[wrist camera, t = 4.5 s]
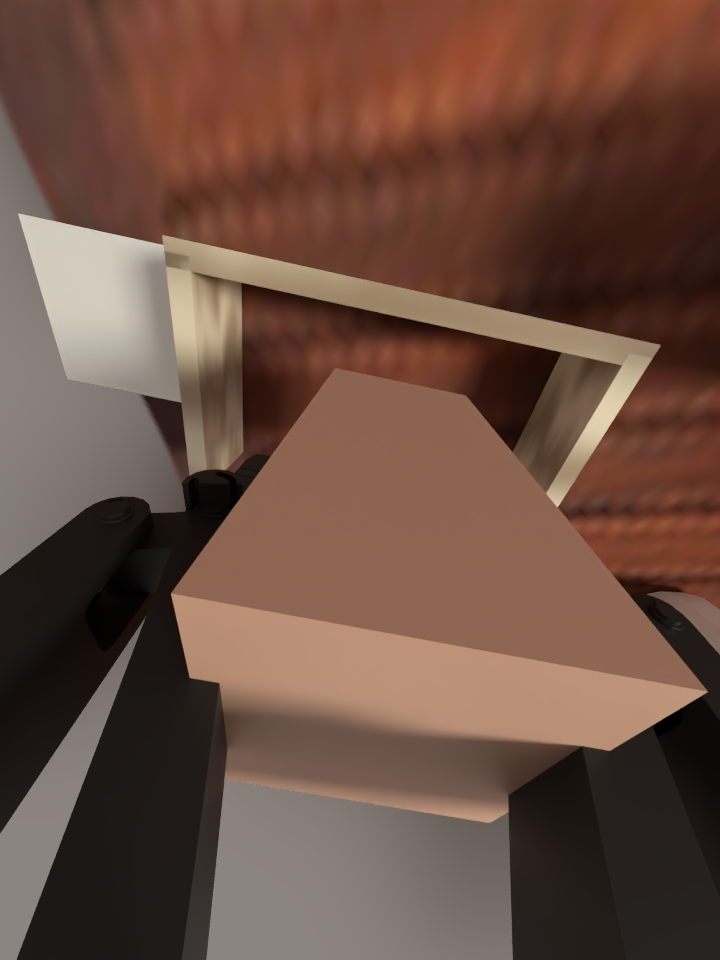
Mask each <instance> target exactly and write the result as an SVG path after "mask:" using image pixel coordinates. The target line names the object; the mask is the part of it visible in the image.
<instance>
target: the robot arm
mask: <svg viewBox="0 0 720 960" xmlns="http://www.w3.org/2000/svg"><path fill="white" fill-rule="evenodd" d="M270 457H271V456H266V455H261V454H257V455H254V456H252V457H250V458H248V459H246V460H245V462H244V463H243V464H242V465H241V466H240V469H238V470H237V471H236V472H235V473H233V472H230V471H227V470H220V469H212V470H203V471H199V472H196V473H194V474H192V475H190V476H188V477H187V478H186V479H185V480H184V481H183V482H182V486H183V493H184V499H185V506H186V511H185V512H176V513H151V511H150V506H149V504H148V503H147V502H146V501H144V500H143V499H139V498H136V497H116V498H110V499H106V500H103V501H100V502H98V503H95V504H93V505H92V506H90V507H88V508H86V509H85V510H84V511H82V512H81V513H80V514H79V515H77V516H76V517H75V518H73V519H72V520H71V521H70V522H68V523H67V524H66V525H65V526H63V527H62V528H61V529H59V530H58V531H57V532H56V533H54V534H53V535H52V536H51V537H49V538H48V539H46V540H45V541H44V542H43V543H41V544H40V545H39V546H37V547H36V548H35V549H34V550H32V551H31V552H30V553H29V554H27V555H26V556H25V557H23V558H22V559H21V560H20V561H19V562H17V563H16V564H14V565H13V566H12V567H11V568H9V569H8V570H7V571H6V572H4V573H3V574H2V575H0V833H1V831H2V830H3V828H4V827H5V825H6V824H7V822H8V821H9V820H10V818H11V817H12V815H13V814H14V812H15V810H16V809H17V808H18V806H19V805H20V803H21V802H22V800H23V799H24V797H25V796H26V794H27V793H28V791H29V790H30V788H31V787H32V785H33V784H34V782H35V781H36V779H37V778H38V776H39V775H40V773H41V772H42V770H43V769H44V767H45V766H46V764H47V763H48V761H49V760H50V758H51V757H52V755H53V754H54V752H55V751H56V749H57V748H58V747H59V745H60V744H61V742H62V741H63V739H64V737H65V736H66V735H67V733H68V731H69V730H70V728H71V727H72V726H73V724H74V723H75V721H76V720H77V718H78V717H79V715H80V714H81V712H82V711H83V709H84V708H85V706H86V705H87V703H88V702H89V700H90V699H91V697H92V696H93V694H94V693H95V691H96V690H97V688H98V687H99V685H100V684H101V682H102V681H103V679H104V678H105V677H106V675H107V674H108V672H109V670H110V669H111V667H112V666H113V665H114V663H115V661H116V660H117V659H118V657H119V656H120V654H121V653H122V651H123V650H124V648H125V647H126V645H127V644H128V642H129V641H130V639H131V638H132V636H133V635H134V633H135V632H136V630H137V629H138V627H139V626H140V624H141V623H142V621H143V620H144V618H145V617H146V618H145V621H144V624H143V626H142V629H141V632H140V634H139V637H138V640H137V642H136V645H135V647H134V650H133V653H132V655H131V658H130V661H129V663H128V666H127V669H126V671H125V674H124V676H123V679H122V682H121V685H120V687H119V690H118V693H117V695H116V698H115V700H114V703H113V706H112V708H111V711H110V714H109V716H108V719H107V722H106V724H105V727H104V729H103V732H102V735H101V737H100V740H99V743H98V745H97V748H96V751H95V753H94V756H93V759H92V761H91V764H90V767H89V769H88V772H87V775H86V777H85V780H84V783H83V785H82V788H81V790H80V793H79V796H78V798H77V801H76V804H75V806H74V809H73V812H72V814H71V817H70V820H69V822H68V825H67V828H66V831H65V833H64V835H63V838H62V841H61V843H60V846H59V849H58V852H57V854H56V857H55V859H54V862H53V865H52V867H51V870H50V873H49V875H48V878H47V881H46V883H45V886H44V888H43V891H42V894H41V897H40V899H39V902H38V905H37V907H36V910H35V912H34V915H33V918H32V920H31V923H30V926H29V928H28V931H27V933H26V937H25V939H24V941H23V944H22V947H21V949H20V952H19V955H18V957H17V960H206V956H207V947H208V937H209V927H210V917H211V906H212V897H213V887H214V877H215V868H216V858H217V847H218V838H219V827H220V818H221V808H222V798H223V788H224V779H225V769H226V759H227V749H228V748H227V740H226V732H225V723H224V715H223V707H222V699H221V691H220V683H216V682H210V681H205V680H199V679H193V678H190V677H189V672H188V668H187V663H186V659H185V654H184V650H183V645H182V641H181V636H180V632H179V627H178V623H177V618H176V614H175V609H174V605H173V600H172V596H171V593H172V591H173V590H174V589H175V587H176V586H177V585H178V583H179V582H180V580H181V579H182V578H183V576H184V575H185V574H186V572H187V571H188V570H189V568H190V567H191V565H192V564H193V563H194V561H195V560H196V559H197V557H198V556H199V554H200V553H201V552H202V550H203V549H204V548H205V546H206V545H207V543H208V542H209V541H210V539H211V538H212V537H213V535H214V534H215V532H216V531H217V530H218V528H219V527H220V526H221V524H222V523H223V522H224V520H225V519H226V517H227V516H228V515H229V513H230V512H231V511H232V509H233V508H234V506H235V505H236V504H237V502H238V501H239V500H240V498H241V497H242V495H243V494H244V493H245V491H246V490H247V489H248V487H249V486H250V484H251V483H252V482H253V480H254V479H255V478H256V476H257V475H258V474H259V472H260V471H261V469H262V468H263V467H264V465H265V464H266V463H267V461H268V460H269V458H270ZM632 599H633V600H634V602H635V603H636V604H637V605H638V607H639V608H640V609H641V610H642V611H643V613H644V614H645V615H646V616H647V618H648V619H649V620H650V621H651V622H652V624H653V625H654V626H655V627H656V629H657V630H658V631H659V632H660V633H661V635H662V636H663V637H664V638H665V640H666V641H667V642H668V643H669V644H670V646H671V647H672V648H673V649H674V651H675V652H676V653H677V654H678V655H679V657H680V658H681V659H682V660H683V662H684V663H685V664H686V665H687V666H688V668H689V669H690V670H691V671H692V673H693V674H694V675H695V676H696V677H697V679H698V680H699V681H700V682H701V684H702V685H703V686H704V687H705V688H706V690H707V691H708V692H707V693H705V694H704V695H702V696H700V697H699V698H697V699H695V700H694V701H692V702H690V703H689V704H687V705H685V706H684V707H682V708H680V709H679V710H677V711H675V712H674V713H672V714H670V715H669V716H667V717H665V718H664V719H662V720H660V721H659V722H657V723H655V724H654V725H652V726H650V727H649V728H647V729H645V730H644V731H642V732H640V733H639V734H637V735H635V736H634V737H632V738H630V739H629V740H627V741H625V742H624V743H622V744H620V745H619V746H617V747H615V748H614V749H612V750H611V751H608V750H602V749H597V748H591V747H585V746H581V747H580V748H578V749H577V750H575V751H574V752H572V753H571V754H569V755H568V756H566V757H565V758H563V759H562V760H560V761H559V762H557V763H556V764H554V765H553V766H551V767H550V768H548V769H547V770H545V771H544V772H542V773H541V774H539V775H538V776H536V777H535V778H533V779H532V780H530V781H529V782H527V783H526V784H524V785H523V786H521V787H520V788H518V789H517V790H515V791H514V792H512V793H511V794H509V795H508V806H509V837H510V838H509V839H510V875H511V909H512V944H513V960H720V654H719V653H718V652H717V651H716V650H715V649H714V648H713V646H712V645H711V644H710V643H709V642H708V641H707V640H706V638H705V637H704V636H703V635H702V634H701V633H700V632H699V631H698V629H697V628H696V627H695V626H694V625H693V624H692V623H691V622H690V621H689V620H688V619H687V618H686V617H685V616H684V615H683V614H682V613H681V612H679V611H678V610H676V609H675V608H674V607H673V606H672V605H670V604H669V603H667V602H664V601H663V600H661V599H659V598H656V597H653V596H650V595H647V594H637V595H635V596H633V597H632ZM146 615H147V616H146Z"/></svg>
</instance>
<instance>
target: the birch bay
mask: <svg viewBox="0 0 720 960" xmlns="http://www.w3.org/2000/svg"><path fill="white" fill-rule="evenodd" d="M162 236H163V245H164V254H165V262H166V271H167V280H168V289H169V298H170V307H171V315H172V324H173V333H174V342H175V351H176V359H177V368H178V377H179V386H180V395H181V403H182V412H183V421H184V430H185V439H186V447H187V456H188V465H189V474H190V475H192V474H194V473H196V472H199V471H203V470H212V469H220V470H226V469H227V468H228V467H229V466H230V465H231V464H232V463H233V462H234V461H235V460H236V459H237V458H238V457H239V456H240V455H241V454H242V453H243V383H242V283H246V284H250V285H255V286H259V287H264V288H269V289H273V290H278V291H282V292H287V293H292V294H296V295H301V296H305V297H310V298H315V299H319V300H324V301H328V302H333V303H338V304H342V305H347V306H351V307H356V308H361V309H365V310H370V311H374V312H379V313H384V314H388V315H393V316H397V317H402V318H407V319H411V320H416V321H420V322H425V323H430V324H434V325H439V326H443V327H448V328H453V329H457V330H462V331H466V332H471V333H476V334H480V335H485V336H489V337H494V338H499V339H503V340H508V341H512V342H517V343H522V344H526V345H531V346H535V347H540V348H545V349H549V350H554V351H558V352H562V353H561V355H560V357H559V359H558V361H557V363H556V365H555V367H554V369H553V371H552V373H551V375H550V377H549V379H548V381H547V383H546V385H545V387H544V389H543V391H542V393H541V395H540V398H539V400H538V402H537V404H536V406H535V408H534V410H533V412H532V414H531V416H530V418H529V420H528V422H527V424H526V426H525V428H524V430H523V432H522V434H521V436H520V438H519V440H518V442H517V444H516V447H515V449H514V451H513V454H514V455H515V456H516V457H517V459H518V460H519V461H520V462H521V463H522V465H523V466H524V467H525V468H526V470H527V471H528V472H529V473H530V474H531V476H532V477H533V478H534V479H535V481H536V482H537V483H538V484H539V485H540V487H541V488H542V489H543V490H544V492H545V493H546V494H547V495H548V496H549V498H550V499H551V500H552V501H553V503H554V504H555V505H556V506H557V507H558V506H559V504H560V503H561V501H562V500H563V498H564V497H565V495H566V493H567V492H568V490H569V489H570V487H571V486H572V484H573V482H574V481H575V479H576V478H577V476H578V475H579V473H580V471H581V470H582V468H583V467H584V465H585V464H586V462H587V460H588V459H589V457H590V456H591V454H592V453H593V451H594V449H595V448H596V446H597V445H598V443H599V442H600V440H601V439H602V437H603V435H604V434H605V432H606V431H607V429H608V428H609V426H610V424H611V423H612V421H613V420H614V418H615V417H616V415H617V413H618V412H619V410H620V409H621V407H622V406H623V404H624V402H625V401H626V399H627V398H628V396H629V395H630V393H631V391H632V390H633V388H634V387H635V385H636V384H637V382H638V380H639V379H640V377H641V376H642V374H643V373H644V371H645V370H646V368H647V366H648V365H649V363H650V362H651V360H652V359H653V357H654V355H655V354H656V352H657V351H658V349H659V348H660V346H661V345H658V344H654V343H649V342H645V341H640V340H636V339H631V338H627V337H622V336H617V335H613V334H608V333H604V332H599V331H595V330H590V329H586V328H581V327H577V326H572V325H568V324H563V323H558V322H554V321H549V320H545V319H540V318H536V317H531V316H527V315H522V314H518V313H513V312H509V311H504V310H500V309H495V308H490V307H486V306H481V305H477V304H472V303H468V302H463V301H459V300H454V299H450V298H445V297H441V296H436V295H431V294H427V293H422V292H418V291H413V290H409V289H404V288H400V287H395V286H391V285H386V284H382V283H377V282H373V281H368V280H363V279H359V278H354V277H350V276H345V275H341V274H336V273H332V272H327V271H323V270H318V269H314V268H309V267H304V266H300V265H295V264H291V263H286V262H282V261H277V260H273V259H268V258H264V257H259V256H255V255H250V254H246V253H241V252H236V251H232V250H227V249H223V248H218V247H214V246H209V245H205V244H200V243H196V242H191V241H187V240H182V239H177V238H173V237H168V236H164V235H162Z"/></svg>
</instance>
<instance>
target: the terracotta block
mask: <svg viewBox="0 0 720 960" xmlns="http://www.w3.org/2000/svg"><path fill="white" fill-rule="evenodd" d="M171 596H172V600H173V605H174V609H175V614H176V618H177V623H178V627H179V632H180V636H181V641H182V645H183V650H184V654H185V659H186V663H187V668H188V672H189V677H190V678H193V679H199V680H205V681H210V682H216V683H220V691H221V699H222V707H223V715H224V723H225V732H226V740H227V748H228V749H227V759H226V769H225V780H231V781H237V782H244V783H251V784H256V785H262V786H268V787H274V788H280V789H286V790H293V791H298V792H305V793H311V794H317V795H323V796H329V797H335V798H341V799H347V800H353V801H359V802H366V803H371V804H378V805H384V806H390V807H396V808H402V809H408V810H415V811H420V812H427V813H432V814H439V815H445V816H451V817H457V818H463V819H469V820H475V821H481V822H487V823H490V822H492V821H494V820H496V819H497V818H499V817H501V816H502V815H504V814H506V813H507V812H509V806H508V795H509V794H511V793H512V792H514V791H515V790H517V789H518V788H520V787H521V786H523V785H524V784H526V783H527V782H529V781H530V780H532V779H533V778H535V777H536V776H538V775H539V774H541V773H542V772H544V771H545V770H547V769H548V768H550V767H551V766H553V765H554V764H556V763H557V762H559V761H560V760H562V759H563V758H565V757H566V756H568V755H569V754H571V753H572V752H574V751H575V750H577V749H578V748H580V747H581V746H585V747H591V748H597V749H602V750H608V751H611V750H612V749H614V748H615V747H617V746H619V745H620V744H622V743H624V742H625V741H627V740H629V739H630V738H632V737H634V736H635V735H637V734H639V733H640V732H642V731H644V730H645V729H647V728H649V727H650V726H652V725H654V724H655V723H657V722H659V721H660V720H662V719H664V718H665V717H667V716H669V715H670V714H672V713H674V712H675V711H677V710H679V709H680V708H682V707H684V706H685V705H687V704H689V703H690V702H692V701H694V700H695V699H697V698H699V697H700V696H702V695H704V694H705V693H707V692H708V691H707V690H706V688H705V687H704V686H703V685H702V684H701V682H700V681H699V680H698V679H697V677H696V676H695V675H694V674H693V673H692V671H691V670H690V669H689V668H688V666H687V665H686V664H685V663H684V662H683V660H682V659H681V658H680V657H679V655H678V654H677V653H676V652H675V651H674V649H673V648H672V647H671V646H670V644H669V643H668V642H667V641H666V640H665V638H664V637H663V636H662V635H661V633H660V632H659V631H658V630H657V629H656V627H655V626H654V625H653V624H652V622H651V621H650V620H649V619H648V618H647V616H646V615H645V614H644V613H643V611H642V610H641V609H640V608H639V607H638V605H637V604H636V603H635V602H634V600H633V599H632V598H631V597H630V596H629V594H628V593H627V592H626V591H625V589H624V588H623V587H622V586H621V584H620V583H619V582H618V581H617V580H616V578H615V577H614V576H613V575H612V573H611V572H610V571H609V570H608V569H607V567H606V566H605V565H604V564H603V562H602V561H601V560H600V559H599V558H598V556H597V555H596V554H595V553H594V551H593V550H592V549H591V548H590V547H589V545H588V544H587V543H586V542H585V540H584V539H583V538H582V537H581V536H580V534H579V533H578V532H577V531H576V529H575V528H574V527H573V526H572V525H571V523H570V522H569V521H568V520H567V518H566V517H565V516H564V515H563V514H562V512H561V511H560V510H559V509H558V507H557V506H556V505H555V504H554V503H553V501H552V500H551V499H550V498H549V496H548V495H547V494H546V493H545V492H544V490H543V489H542V488H541V487H540V485H539V484H538V483H537V482H536V481H535V479H534V478H533V477H532V476H531V474H530V473H529V472H528V471H527V470H526V468H525V467H524V466H523V465H522V463H521V462H520V461H519V460H518V459H517V457H516V456H515V455H514V454H513V452H512V451H511V450H510V449H509V448H508V446H507V445H506V444H505V443H504V441H503V440H502V439H501V438H500V437H499V435H498V434H497V433H496V432H495V430H494V429H493V428H492V427H491V426H490V424H489V423H488V422H487V421H486V419H485V418H484V417H483V416H482V414H481V413H480V412H479V411H478V410H477V408H476V407H475V406H474V405H473V403H472V402H471V401H470V400H469V399H468V397H467V396H466V395H461V394H456V393H452V392H447V391H442V390H437V389H433V388H428V387H423V386H418V385H414V384H409V383H404V382H399V381H394V380H390V379H385V378H380V377H375V376H371V375H366V374H361V373H356V372H352V371H347V370H342V369H337V368H335V369H334V371H333V372H332V373H331V375H330V376H329V378H328V379H327V380H326V382H325V383H324V384H323V386H322V387H321V388H320V390H319V391H318V393H317V394H316V395H315V397H314V398H313V399H312V401H311V402H310V404H309V405H308V406H307V408H306V409H305V410H304V412H303V413H302V415H301V416H300V417H299V419H298V420H297V421H296V423H295V424H294V426H293V427H292V428H291V430H290V431H289V432H288V434H287V435H286V436H285V438H284V439H283V441H282V442H281V443H280V445H279V446H278V447H277V449H276V450H275V452H274V453H273V454H272V456H271V457H270V458H269V460H268V461H267V463H266V464H265V465H264V467H263V468H262V469H261V471H260V472H259V474H258V475H257V476H256V478H255V479H254V480H253V482H252V483H251V484H250V486H249V487H248V489H247V490H246V491H245V493H244V494H243V495H242V497H241V498H240V500H239V501H238V502H237V504H236V505H235V506H234V508H233V509H232V511H231V512H230V513H229V515H228V516H227V517H226V519H225V520H224V522H223V523H222V524H221V526H220V527H219V528H218V530H217V531H216V532H215V534H214V535H213V537H212V538H211V539H210V541H209V542H208V543H207V545H206V546H205V548H204V549H203V550H202V552H201V553H200V554H199V556H198V557H197V559H196V560H195V561H194V563H193V564H192V565H191V567H190V568H189V570H188V571H187V572H186V574H185V575H184V576H183V578H182V579H181V580H180V582H179V583H178V585H177V586H176V587H175V589H174V590H173V591H172V593H171Z"/></svg>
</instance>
